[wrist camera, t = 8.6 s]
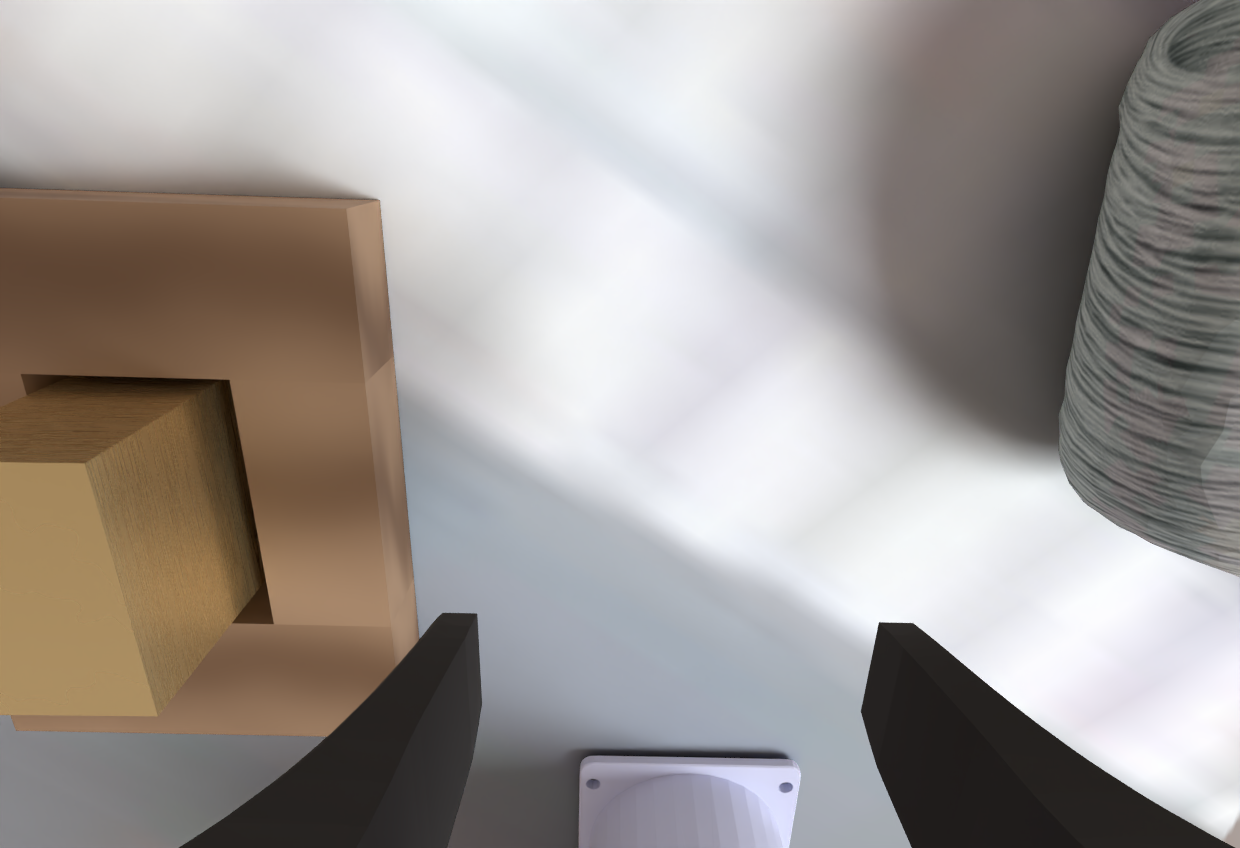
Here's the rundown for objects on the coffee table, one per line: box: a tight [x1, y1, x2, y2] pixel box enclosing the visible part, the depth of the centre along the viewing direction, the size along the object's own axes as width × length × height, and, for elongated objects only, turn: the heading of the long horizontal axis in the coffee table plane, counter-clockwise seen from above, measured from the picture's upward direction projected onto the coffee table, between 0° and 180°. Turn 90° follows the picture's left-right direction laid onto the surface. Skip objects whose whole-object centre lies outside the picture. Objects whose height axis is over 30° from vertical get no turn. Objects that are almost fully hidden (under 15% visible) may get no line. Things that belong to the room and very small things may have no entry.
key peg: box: [0, 375, 266, 716], centre depth 18 cm, size 4×6×7 cm, turn 179°
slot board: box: [0, 188, 419, 736], centre depth 20 cm, size 16×12×2 cm
